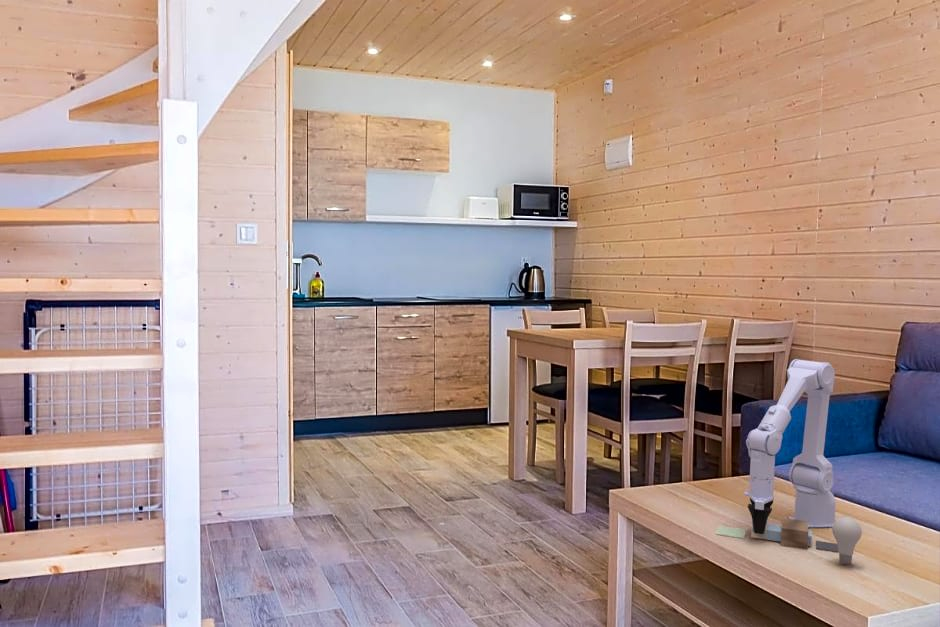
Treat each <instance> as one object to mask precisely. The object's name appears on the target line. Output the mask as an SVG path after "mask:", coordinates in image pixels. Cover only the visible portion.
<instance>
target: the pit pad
mask: <svg viewBox="0 0 940 627" xmlns="http://www.w3.org/2000/svg"><path fill="white" fill-rule="evenodd" d="M815 548H816V550H818V551H819V550H820V551H826V552H832V553H833V552H834V553H838V554H839V552H838V544H837V542H836V543H835V542H827V541H821V540H815Z"/></svg>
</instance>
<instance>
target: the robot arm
mask: <svg viewBox="0 0 940 627" xmlns="http://www.w3.org/2000/svg"><path fill="white" fill-rule="evenodd" d="M786 373H787V382H786V385H785V386H784V388H783V390H782V393H781V394H780V396H779V399H778V401H777V403H776V404H775V405H771V406H769V407H768V410H767V411H766V413H765V415H764V416H763V418H762V419H761V421H760V423H759V425H758V427H757V428H755V429H752V430H751V431H749V433H748V435H747V437H746V438H747V439H746V440H745V444H746V447H747V450H748V457H749V458H750V464H749V465H750V466H749V488H748V489H749V491H747V490H746V491H744V493H743V494H744V497H749V502H750V503H748V504H747V509H748V511H749V513H750V516H751V522H752V521H753V528H754V533H756V534H764V531H765V526H766V522H767V519H769V516H770V515H771V513H772V511H773V508H772V505H773V504H774V499H775V494H774V490H775V488H774V487H775V467H776V466H775V465H776V464H775V463H776V454H777V453H778V452H779V451H780V449H781V446H782V440H783V434H784V432H785V430H786V428H787V426H788V425H789V423H790V421H791V420H792V416H791V413H790V412H791V410H792V409H793V408H794V407H795V405H796V403H798V401H799V399H800V398H801V396H802V395H803V394H804V392H805V393H806V394H807V405H806V413H805V422H804V431H803V441H802V450H801V453H800V454H797V455H796V456H795V457H793V459H792V464H791V467H790V468H789V473H788V477H789V478H788V479H789V482H790V483H791V484H792V485H793V489H795V501H794V503H795V504H794V515H793V516H789V515H788V516H787V519H794V520H802V521H808V528H832V526H833V524H834V522H835V521H836V499H835V495H834V494H833V493H832V491H831V489H832V488H833V485H834V479H835V478H834V473H833V466H834V465H833V464H832V463H831V462H830V461H829V460H828V459H827V458H826V457H825V455H824V451H825V443H826V434H827V433H826V432H827V423H828V414H829V404H830V394H833V392H834V384H835V375H836V371H835V369H834V368H833V366H832V364H831V363H829V362H821V361H813V360H805V359H799V358H796V359H793V360H792V361H791V362H790V364H789V366H788V369H787V371H786Z"/></svg>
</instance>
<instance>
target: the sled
mask: <svg viewBox="0 0 940 627" xmlns="http://www.w3.org/2000/svg"><path fill="white" fill-rule="evenodd" d="M768 519H769V518H768ZM768 519H767V522H766V526H765V531H764V534H756V533H754V528H753V521H752V520H751V533H750V534H751V538H753V539H761V540H768V541H775V542H780V543H781V528H782V525H777V524H776V525H775V524H770V523H769V520H768ZM812 533H813V532H812V529H808V547H812V539H813V538H812V536H813V535H812Z"/></svg>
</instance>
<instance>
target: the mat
mask: <svg viewBox="0 0 940 627" xmlns="http://www.w3.org/2000/svg"><path fill="white" fill-rule="evenodd" d="M746 533H747V529H745V528H739V527H730V526H724V525H717V528H716V531H715V533H714V534H715V535H717V536H723V537H731V538H737V539H745V538H746Z"/></svg>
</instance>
